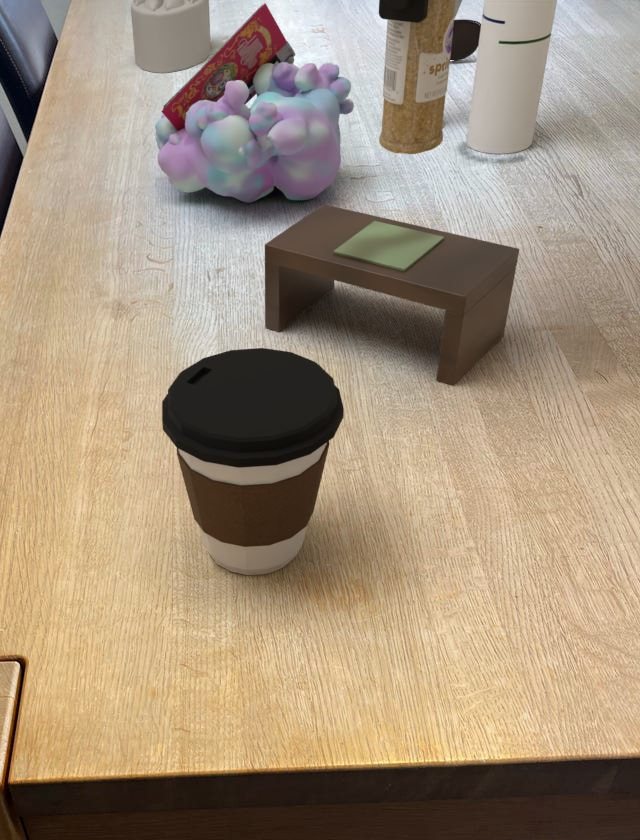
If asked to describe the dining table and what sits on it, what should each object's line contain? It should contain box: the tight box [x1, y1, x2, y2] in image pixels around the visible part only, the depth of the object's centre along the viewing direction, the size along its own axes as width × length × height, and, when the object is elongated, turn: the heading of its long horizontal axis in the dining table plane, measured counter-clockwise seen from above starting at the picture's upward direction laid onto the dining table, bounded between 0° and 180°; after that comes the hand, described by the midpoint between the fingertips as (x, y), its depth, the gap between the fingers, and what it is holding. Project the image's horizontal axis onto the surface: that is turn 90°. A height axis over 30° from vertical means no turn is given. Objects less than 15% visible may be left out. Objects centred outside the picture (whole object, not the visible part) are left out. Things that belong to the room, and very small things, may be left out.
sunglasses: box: [450, 18, 481, 62], centre depth 136 cm, size 14×16×5 cm
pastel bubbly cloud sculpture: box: [154, 2, 355, 204], centre depth 104 cm, size 20×22×18 cm
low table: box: [264, 203, 520, 386], centre depth 83 cm, size 18×9×8 cm, turn 51°
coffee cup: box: [161, 347, 345, 576], centre depth 63 cm, size 11×11×12 cm
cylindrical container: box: [465, 0, 558, 155], centre depth 104 cm, size 7×7×25 cm
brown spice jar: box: [378, 0, 455, 155], centre depth 67 cm, size 5×5×13 cm
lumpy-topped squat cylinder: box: [130, 0, 212, 74], centre depth 140 cm, size 10×13×9 cm
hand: (422, 4), depth 66 cm, fingers closed on brown spice jar, 4 cm apart
